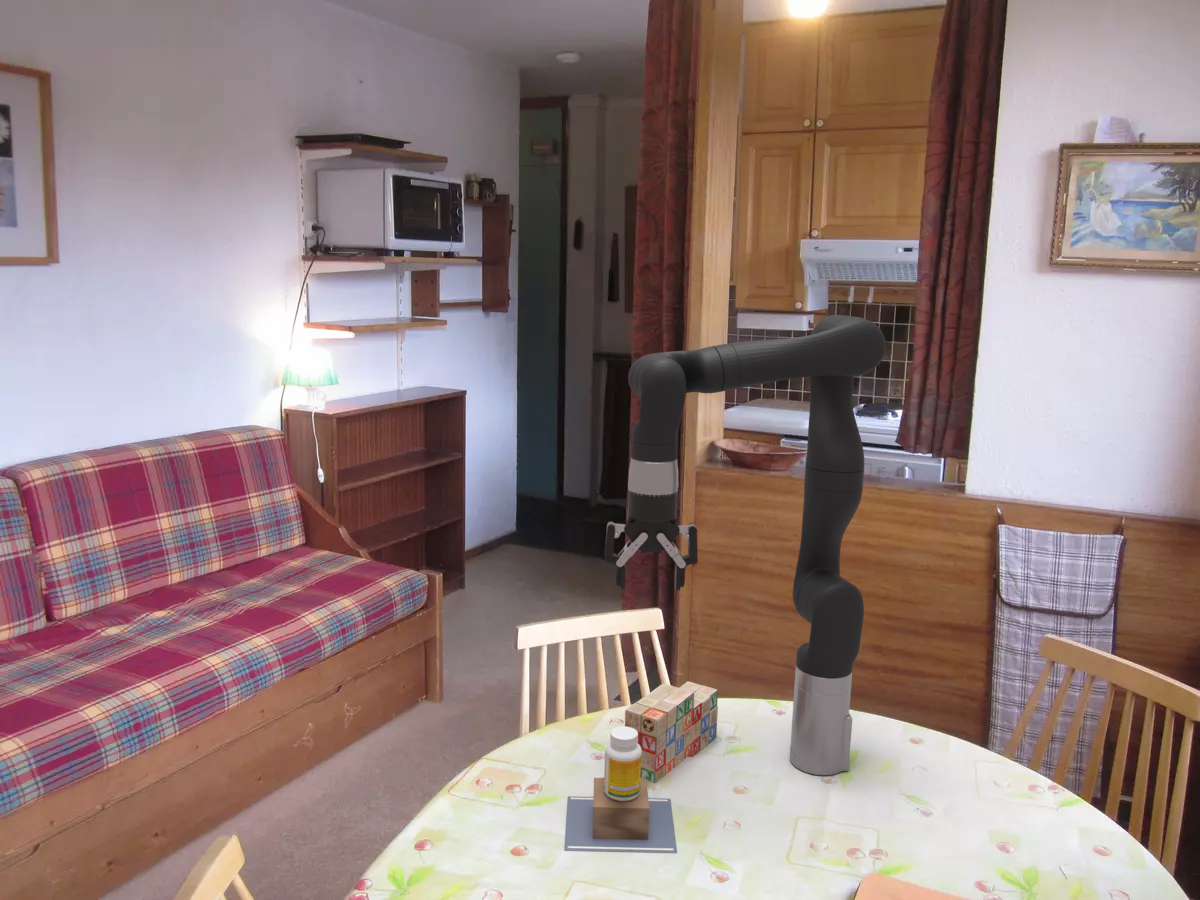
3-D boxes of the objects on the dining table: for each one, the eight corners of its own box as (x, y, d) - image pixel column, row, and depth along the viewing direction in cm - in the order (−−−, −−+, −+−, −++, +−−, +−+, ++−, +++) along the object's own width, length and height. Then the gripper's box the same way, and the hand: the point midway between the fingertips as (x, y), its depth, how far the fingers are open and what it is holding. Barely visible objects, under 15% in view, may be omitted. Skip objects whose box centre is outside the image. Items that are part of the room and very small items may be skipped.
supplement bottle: (597, 787, 142) (599, 727, 140) (629, 779, 144) (631, 720, 143) (614, 805, 137) (616, 744, 136) (647, 797, 140) (649, 737, 138)
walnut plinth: (645, 808, 146) (646, 778, 145) (648, 839, 138) (649, 808, 137) (593, 807, 146) (593, 777, 145) (592, 838, 138) (593, 807, 137)
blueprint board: (670, 804, 149) (670, 797, 149) (677, 859, 135) (677, 852, 135) (567, 802, 149) (567, 795, 149) (564, 856, 135) (564, 849, 135)
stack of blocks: (686, 728, 174) (689, 664, 172) (717, 738, 170) (720, 673, 168) (622, 778, 157) (624, 708, 154) (655, 790, 153) (657, 719, 151)
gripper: (697, 482, 149) (693, 581, 152) (606, 480, 149) (603, 579, 152) (702, 494, 142) (697, 598, 145) (606, 492, 142) (603, 596, 145)
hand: (649, 588), depth 148 cm, fingers open, 8 cm apart
